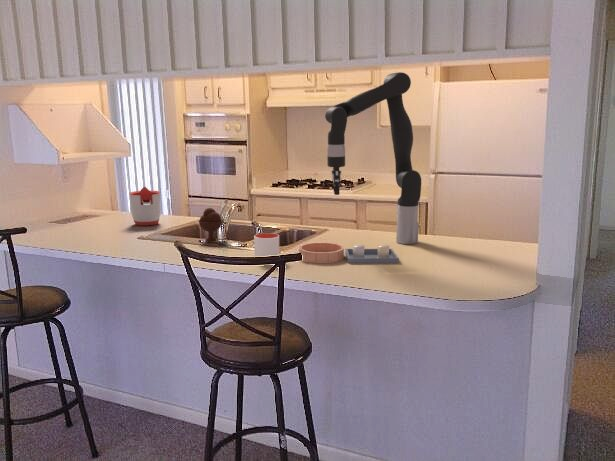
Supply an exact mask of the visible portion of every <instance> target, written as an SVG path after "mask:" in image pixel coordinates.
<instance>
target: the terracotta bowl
mask: <svg viewBox="0 0 615 461" xmlns="http://www.w3.org/2000/svg"><path fill="white" fill-rule="evenodd" d="M299 253H301V254H302V255H303V261H304V262H303V261H302V262H303V263H305V262H308V263H307V264H310V263H315V264H329V263H336V262H340V261H342V260H343V259H344V258H345V256H344V254H345V247H344V245H342V244H339V243H334V242H325V241H324V242H322V241H320V242H315V241H314V242H308V243H304V244H302V245H299V246H298V254H299Z"/></svg>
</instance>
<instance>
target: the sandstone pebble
mask: <svg viewBox="0 0 615 461" xmlns="http://www.w3.org/2000/svg"><path fill="white" fill-rule="evenodd" d="M377 249H378V256H377V258H389V249H390V245H388V244H378V245H377Z"/></svg>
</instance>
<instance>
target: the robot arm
mask: <svg viewBox="0 0 615 461" xmlns="http://www.w3.org/2000/svg"><path fill="white" fill-rule="evenodd" d="M411 84H412V81H411V78H410V76H409V75H408V74H407V73H406V72H402V71H401V72H399V71H398V72H393V73H388V74H387V75H386V76H385V78H384V80H383V84H380V85H379V86H377V87H374V88H371V89H369V90H366V91H364V92H360V93H358V94H356V95H355V96H352V97H350V98H349V99H347V100H346V101H343V102H339V103H337V104H335V105H333V106H331V107H329V108H328V109H327V110H326V111H325V115H324V116H325V117H324V118H325V120H326V122H327V123H328V124H331V126H330V130H329V131H328V133H327V157H326V159H327V167H328V168H329V167H330V168H332V170H331V177H332V183H333V195H334V196H340V186H341V181H342V170H340V168H343V167H346V145H345V141H346V140H345V139H346V138H345V133H346V128H347V124H348V123H347V122H348V118H349V117H351V116H352V117H353V116H355V115H356V116H357V115H358V114H361V113H362V112H364V111H365V110H367V109H368V110H369V109H370V108H371V107H373V106H375V105H377V104H379V103H381V102H383V101H385V100H386V103H387V109H388V116H389V117H388V118H389V124H390V133H391V140H392V149H393V154H394V160H395V182H396V184H397V186H398V187H399V188H400V189H401V192H400V197H398V198H397V212H396V214H397V215H396V216H397V217H396V238H395V239H396V241H395V242H396V243H398V244H401V245H415V244H419V224H420V223H419V220H418V219H419V218H418V217H419V202H420V199H421V194H422V193H421V192H422V177H421V174H420V173H419V171H417V170H414V169H413V166H412V160H411V157H412V156H411V155H412V148H413V145H414V144H413V143H414V132H413V125H412V121H411V118H410V117H409V115H408V112H407V111H406V109H405V108H406V107H405V105H404V101H403V94H406V93H407V92H408V91H409V89H410V88H411Z"/></svg>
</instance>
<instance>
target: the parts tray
mask: <svg viewBox="0 0 615 461" xmlns="http://www.w3.org/2000/svg"><path fill="white" fill-rule="evenodd" d="M344 254H345V257H346V261H347V264H399V257H398V255H397V253H395V251H394V249H393V248H389V258H377V256H378V248H364V258H353V248H344Z"/></svg>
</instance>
